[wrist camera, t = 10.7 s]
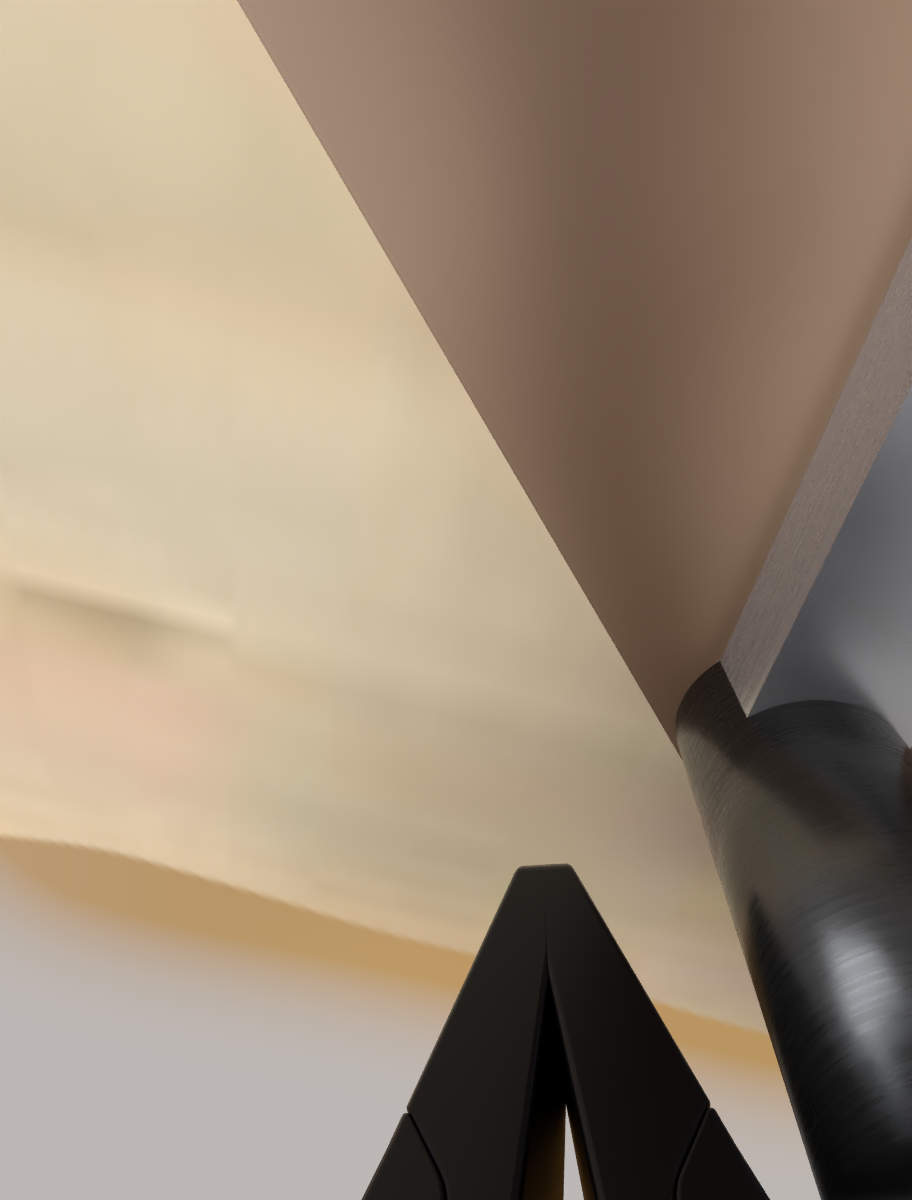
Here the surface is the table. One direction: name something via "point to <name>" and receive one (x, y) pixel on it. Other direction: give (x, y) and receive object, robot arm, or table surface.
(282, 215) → the table surface
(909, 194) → the press bench
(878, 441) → the lever
